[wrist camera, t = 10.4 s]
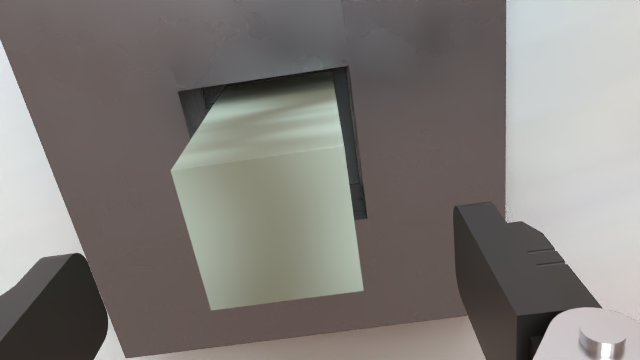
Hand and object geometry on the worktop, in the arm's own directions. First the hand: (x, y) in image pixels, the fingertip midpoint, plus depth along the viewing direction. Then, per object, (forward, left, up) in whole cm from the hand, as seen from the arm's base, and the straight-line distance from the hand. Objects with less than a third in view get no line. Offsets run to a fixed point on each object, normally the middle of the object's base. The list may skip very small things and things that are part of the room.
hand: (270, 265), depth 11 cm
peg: (0, 0, -9) cm, 9 cm away
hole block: (0, 0, -9) cm, 9 cm away
